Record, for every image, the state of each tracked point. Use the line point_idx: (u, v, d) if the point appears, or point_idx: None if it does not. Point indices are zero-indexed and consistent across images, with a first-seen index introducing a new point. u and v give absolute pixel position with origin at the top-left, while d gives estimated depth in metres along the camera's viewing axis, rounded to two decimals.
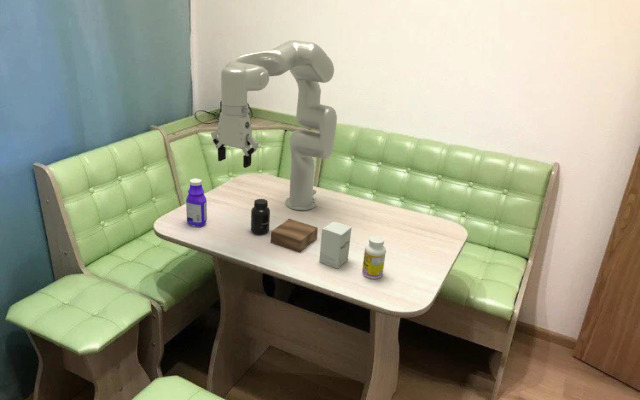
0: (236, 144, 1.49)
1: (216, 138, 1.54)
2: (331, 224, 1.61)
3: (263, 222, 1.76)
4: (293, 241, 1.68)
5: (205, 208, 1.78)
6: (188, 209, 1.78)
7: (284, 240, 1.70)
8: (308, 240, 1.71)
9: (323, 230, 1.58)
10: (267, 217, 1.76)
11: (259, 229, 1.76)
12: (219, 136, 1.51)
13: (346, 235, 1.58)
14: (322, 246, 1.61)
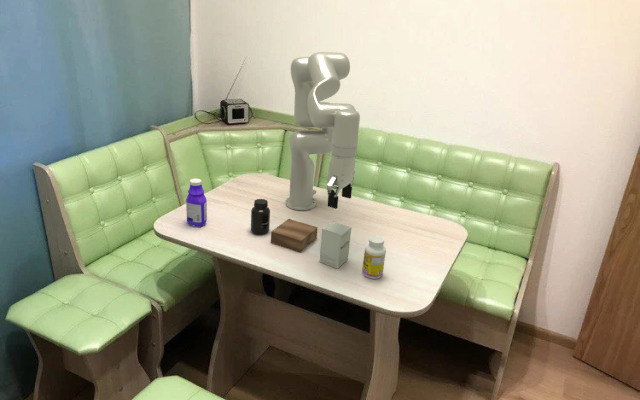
0: (350, 180, 1.54)
1: None
2: (331, 224, 1.61)
3: (263, 222, 1.76)
4: (293, 241, 1.68)
5: (205, 208, 1.78)
6: (188, 209, 1.78)
7: (284, 240, 1.69)
8: (308, 240, 1.71)
9: (323, 230, 1.58)
10: (267, 217, 1.76)
11: (259, 229, 1.76)
12: (342, 182, 1.48)
13: (346, 235, 1.58)
14: (322, 246, 1.61)
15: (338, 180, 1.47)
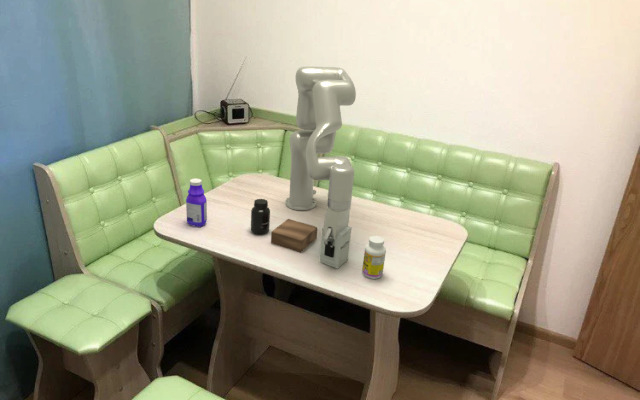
0: None
1: None
2: None
3: (263, 222, 1.76)
4: (293, 241, 1.68)
5: (205, 208, 1.78)
6: (188, 209, 1.78)
7: (284, 240, 1.69)
8: (308, 239, 1.72)
9: None
10: (267, 217, 1.76)
11: (259, 229, 1.76)
12: (337, 233, 1.55)
13: (346, 235, 1.58)
14: (322, 246, 1.61)
15: (333, 233, 1.55)
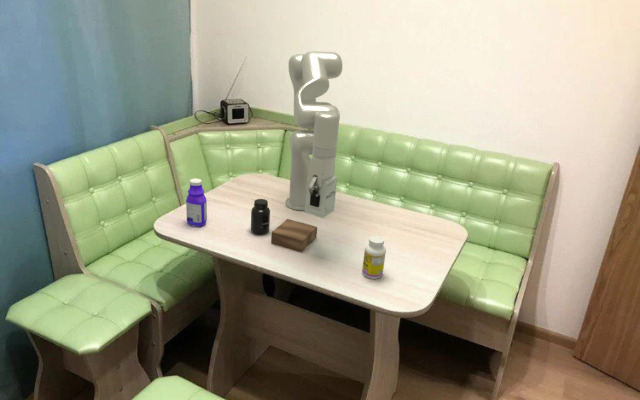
0: None
1: None
2: None
3: (263, 222, 1.76)
4: (294, 241, 1.68)
5: (205, 208, 1.78)
6: (188, 209, 1.78)
7: (285, 240, 1.69)
8: (308, 239, 1.72)
9: None
10: (267, 217, 1.76)
11: (259, 229, 1.76)
12: (322, 181, 1.54)
13: (331, 185, 1.57)
14: (308, 196, 1.59)
15: (318, 181, 1.53)
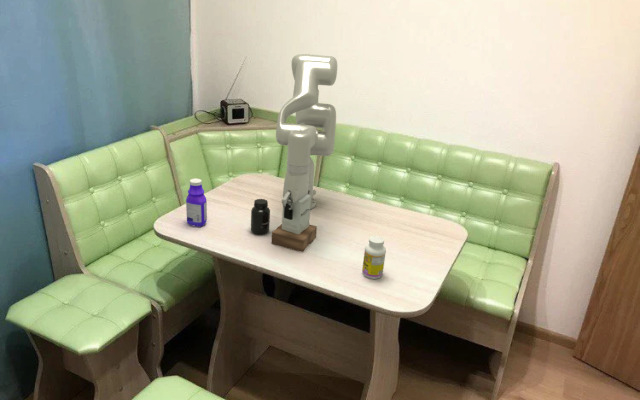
0: (305, 194, 1.69)
1: None
2: None
3: (263, 222, 1.76)
4: (295, 241, 1.68)
5: (205, 208, 1.78)
6: (188, 209, 1.78)
7: (285, 240, 1.69)
8: (309, 239, 1.72)
9: None
10: (267, 217, 1.76)
11: (259, 229, 1.76)
12: (296, 196, 1.63)
13: (305, 203, 1.68)
14: None
15: (292, 194, 1.63)
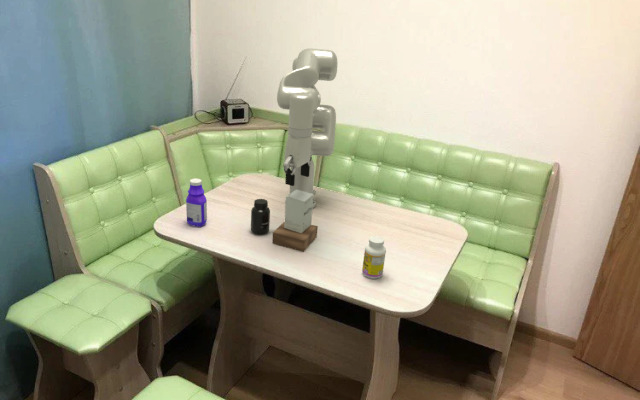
0: (307, 160, 1.64)
1: None
2: (294, 192, 1.72)
3: (263, 222, 1.76)
4: (296, 241, 1.68)
5: (205, 208, 1.78)
6: (188, 209, 1.78)
7: (286, 240, 1.70)
8: (310, 239, 1.72)
9: (287, 198, 1.68)
10: (267, 217, 1.76)
11: (259, 229, 1.76)
12: (297, 161, 1.59)
13: (308, 202, 1.69)
14: (286, 213, 1.71)
15: (294, 159, 1.58)
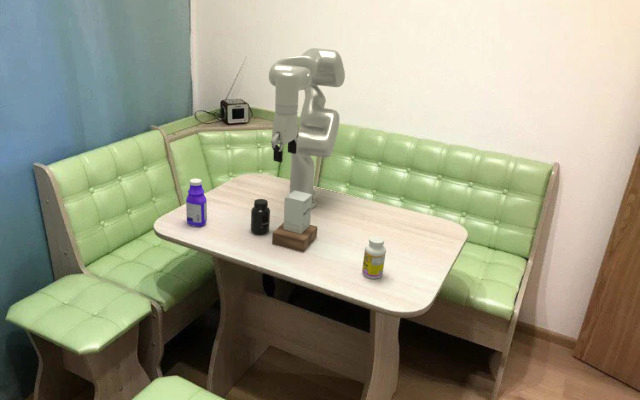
0: (294, 137, 1.68)
1: None
2: (293, 193, 1.71)
3: (263, 222, 1.76)
4: (295, 242, 1.68)
5: (205, 208, 1.78)
6: (188, 209, 1.78)
7: (286, 241, 1.69)
8: (309, 239, 1.72)
9: (286, 198, 1.68)
10: (267, 217, 1.76)
11: (259, 229, 1.76)
12: (285, 138, 1.62)
13: (307, 202, 1.69)
14: (286, 214, 1.70)
15: (281, 136, 1.61)
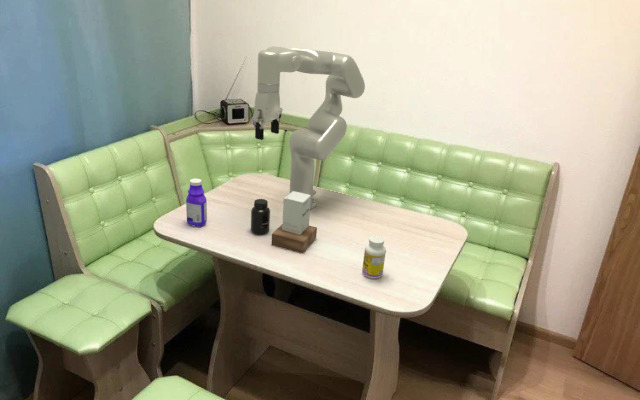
0: (276, 116, 1.74)
1: None
2: (291, 193, 1.70)
3: (263, 222, 1.76)
4: (295, 243, 1.67)
5: (205, 208, 1.78)
6: (188, 209, 1.78)
7: (285, 242, 1.69)
8: (309, 240, 1.71)
9: (285, 199, 1.67)
10: (267, 217, 1.76)
11: (259, 229, 1.76)
12: (266, 116, 1.68)
13: (306, 203, 1.68)
14: (284, 215, 1.69)
15: (262, 113, 1.67)
